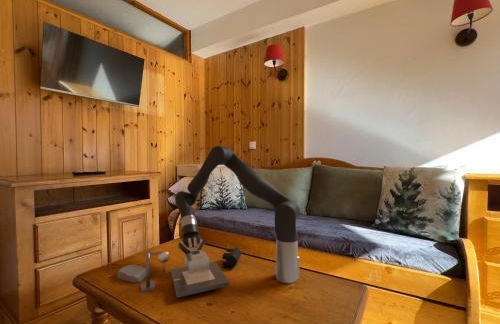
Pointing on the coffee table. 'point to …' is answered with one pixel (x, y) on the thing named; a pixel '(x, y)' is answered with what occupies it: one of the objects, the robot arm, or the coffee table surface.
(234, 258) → the end cap
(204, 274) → the cover
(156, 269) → the coffee table surface
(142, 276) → the stone block
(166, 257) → the dial indicator stand
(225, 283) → the grey flat square slab
